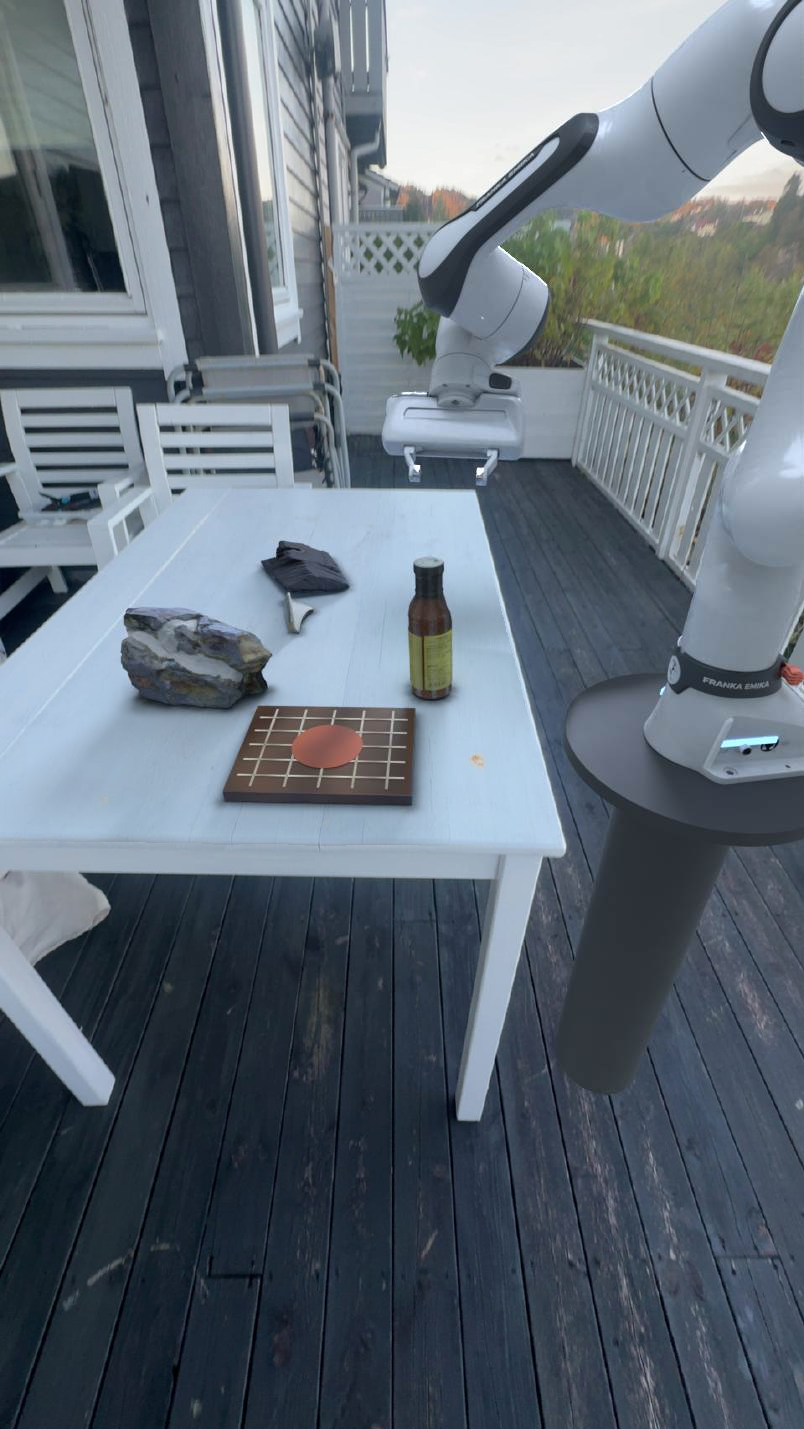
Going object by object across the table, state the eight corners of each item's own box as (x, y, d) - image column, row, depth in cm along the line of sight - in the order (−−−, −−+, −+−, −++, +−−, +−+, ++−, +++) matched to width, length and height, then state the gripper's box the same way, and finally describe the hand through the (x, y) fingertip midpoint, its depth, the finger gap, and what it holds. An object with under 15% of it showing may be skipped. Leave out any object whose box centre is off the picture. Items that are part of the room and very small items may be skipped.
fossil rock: (274, 705, 96) (278, 624, 87) (247, 744, 89) (249, 661, 79) (152, 667, 98) (144, 583, 88) (117, 703, 91) (103, 616, 81)
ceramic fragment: (284, 601, 119) (281, 582, 117) (311, 599, 120) (309, 580, 117) (287, 636, 108) (284, 615, 106) (317, 633, 109) (315, 613, 106)
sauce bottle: (457, 684, 94) (464, 557, 83) (442, 705, 89) (447, 573, 78) (417, 675, 96) (418, 550, 85) (401, 695, 92) (399, 566, 80)
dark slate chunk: (277, 602, 118) (274, 579, 116) (259, 562, 136) (256, 541, 133) (355, 591, 123) (353, 568, 120) (328, 554, 140) (326, 533, 137)
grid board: (415, 716, 87) (415, 707, 86) (411, 805, 72) (411, 795, 71) (259, 714, 88) (257, 704, 87) (224, 801, 73) (221, 790, 72)
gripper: (384, 376, 88) (370, 465, 86) (531, 379, 85) (520, 472, 83) (391, 406, 95) (378, 490, 92) (528, 410, 91) (518, 497, 89)
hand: (447, 481), depth 87 cm, fingers open, 8 cm apart
